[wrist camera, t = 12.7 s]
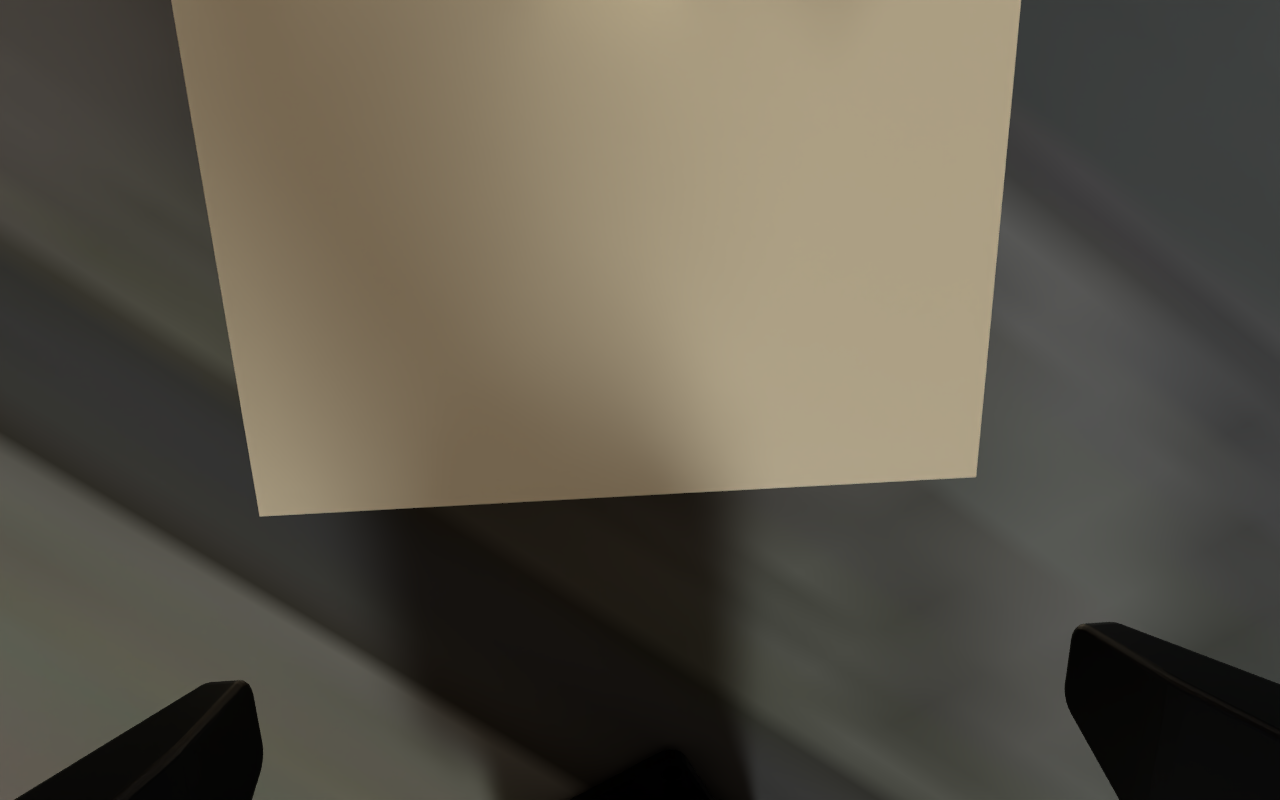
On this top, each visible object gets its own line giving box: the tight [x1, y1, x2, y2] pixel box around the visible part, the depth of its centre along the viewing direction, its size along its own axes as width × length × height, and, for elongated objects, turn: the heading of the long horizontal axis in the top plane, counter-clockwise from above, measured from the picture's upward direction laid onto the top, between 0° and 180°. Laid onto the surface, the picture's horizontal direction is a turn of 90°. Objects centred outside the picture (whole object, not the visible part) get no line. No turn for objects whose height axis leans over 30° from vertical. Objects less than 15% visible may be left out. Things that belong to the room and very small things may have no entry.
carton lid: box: [171, 0, 1021, 516], centre depth 12 cm, size 12×14×7 cm
